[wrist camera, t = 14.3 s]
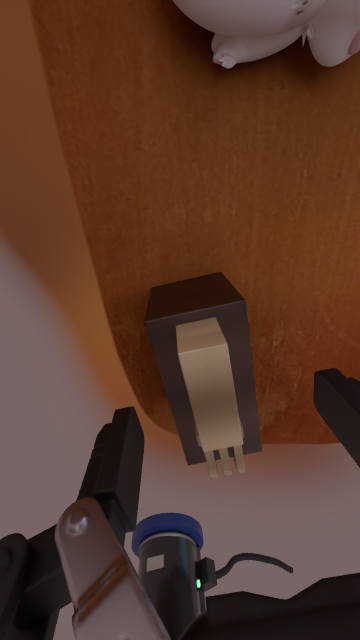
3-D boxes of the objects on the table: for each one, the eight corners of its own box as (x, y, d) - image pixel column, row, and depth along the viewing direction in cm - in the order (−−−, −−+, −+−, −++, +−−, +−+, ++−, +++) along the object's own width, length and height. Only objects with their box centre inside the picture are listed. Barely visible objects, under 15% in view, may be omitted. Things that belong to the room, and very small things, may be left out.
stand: (238, 391, 26) (262, 451, 19) (182, 403, 26) (187, 465, 20) (221, 271, 21) (245, 299, 14) (151, 287, 21) (144, 321, 14)
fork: (170, 326, 15) (171, 355, 12) (220, 315, 14) (233, 342, 12) (205, 459, 19) (211, 503, 17) (242, 452, 19) (255, 494, 16)
